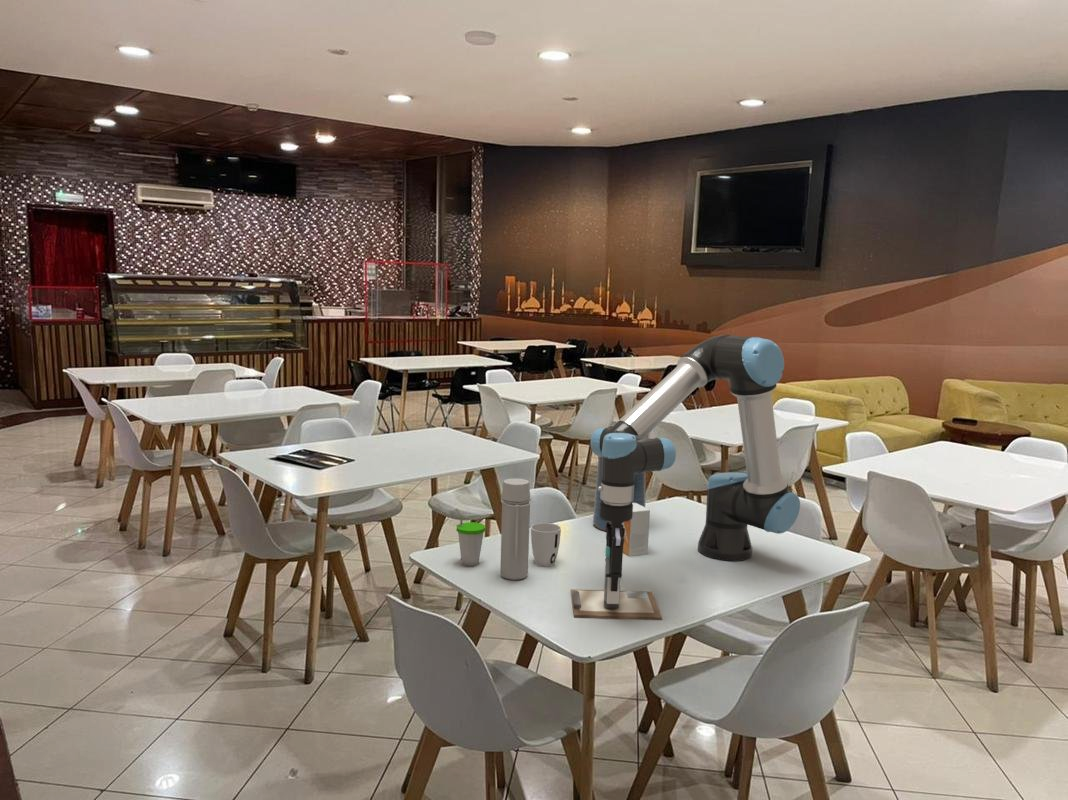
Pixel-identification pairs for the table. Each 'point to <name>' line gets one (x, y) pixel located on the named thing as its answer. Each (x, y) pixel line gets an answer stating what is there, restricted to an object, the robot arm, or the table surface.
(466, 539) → the cup
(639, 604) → the tan flat rectangular tray
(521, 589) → the table surface
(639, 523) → the small box
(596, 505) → the vase
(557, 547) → the cup
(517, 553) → the water bottle
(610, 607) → the marker
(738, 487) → the robot arm
